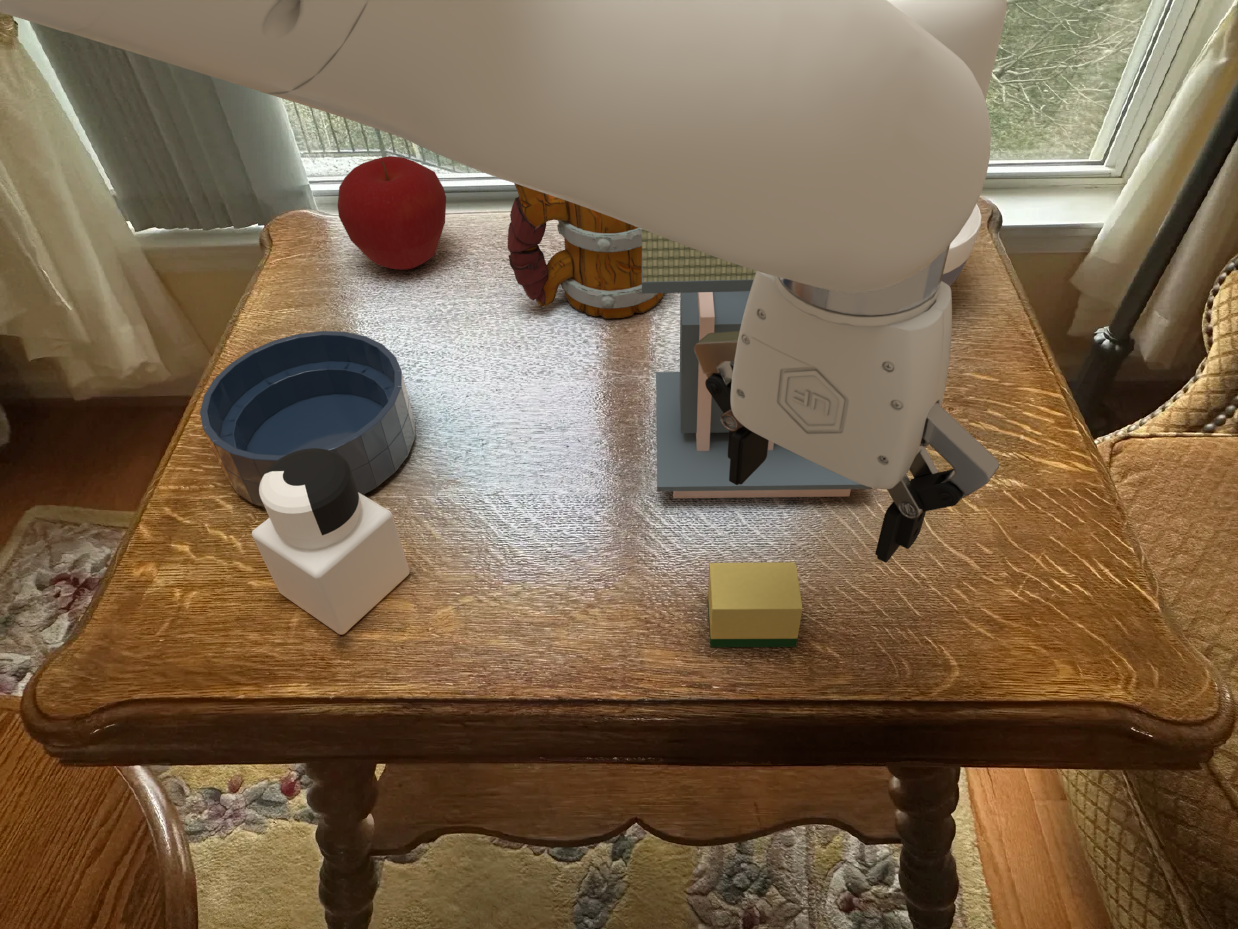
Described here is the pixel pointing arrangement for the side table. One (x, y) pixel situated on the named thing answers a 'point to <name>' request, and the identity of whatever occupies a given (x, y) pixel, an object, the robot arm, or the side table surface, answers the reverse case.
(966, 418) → the side table surface
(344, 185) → the apple
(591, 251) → the mug
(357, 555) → the medicine bottle
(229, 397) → the bowl
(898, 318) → the robot arm
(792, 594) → the sponge
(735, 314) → the desk lamp
